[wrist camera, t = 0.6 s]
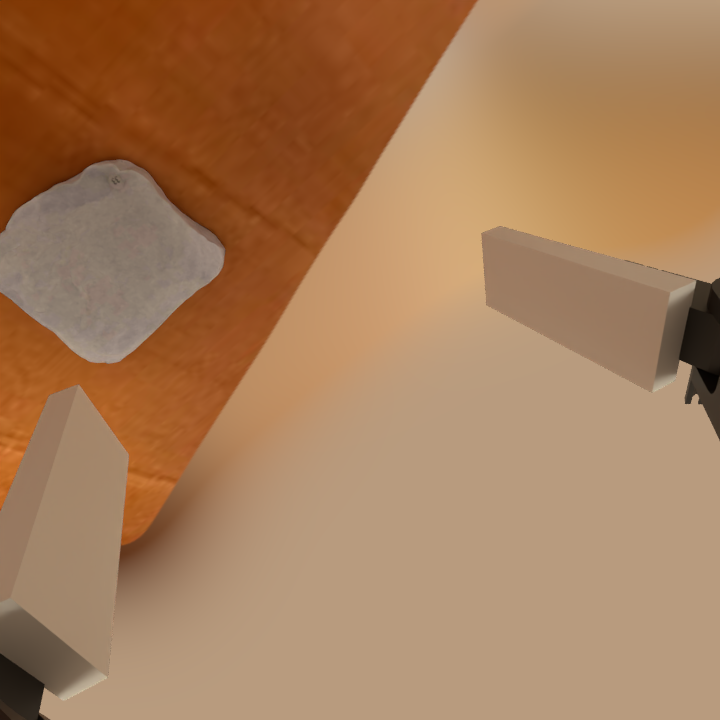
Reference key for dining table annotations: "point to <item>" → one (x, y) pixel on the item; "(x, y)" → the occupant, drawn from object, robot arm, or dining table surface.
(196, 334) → the dining table surface
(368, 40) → the dining table surface
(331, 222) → the dining table surface
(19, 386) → the dining table surface
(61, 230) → the stone block
